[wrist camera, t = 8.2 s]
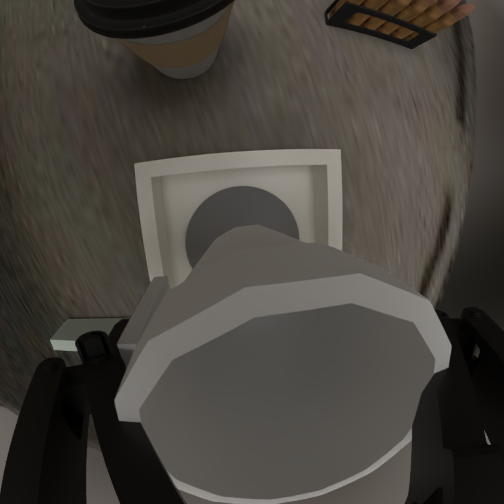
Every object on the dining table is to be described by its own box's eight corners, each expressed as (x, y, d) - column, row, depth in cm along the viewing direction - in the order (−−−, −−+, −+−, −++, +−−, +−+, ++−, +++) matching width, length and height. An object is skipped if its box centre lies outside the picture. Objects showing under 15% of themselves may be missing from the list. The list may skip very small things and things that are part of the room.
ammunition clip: (410, 36, 21) (478, 2, 10) (412, 49, 22) (483, 18, 10) (324, 11, 20) (375, -52, 9) (325, 24, 21) (380, -37, 9)
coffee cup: (230, 8, 20) (243, -100, 5) (243, 90, 22) (272, 1, 8) (133, 26, 19) (75, -63, 5) (139, 109, 22) (52, 52, 7)
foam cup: (226, 354, 20) (239, 519, 8) (150, 251, 18) (48, 391, 5) (341, 290, 20) (454, 418, 7) (280, 172, 17) (415, 184, 5)
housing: (148, 164, 23) (134, 163, 19) (321, 152, 25) (340, 149, 20) (169, 311, 27) (162, 336, 23) (322, 296, 29) (338, 317, 24)
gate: (67, 318, 26) (50, 339, 22) (247, 309, 28) (252, 333, 24) (71, 328, 27) (54, 349, 22) (248, 319, 28) (253, 344, 24)
